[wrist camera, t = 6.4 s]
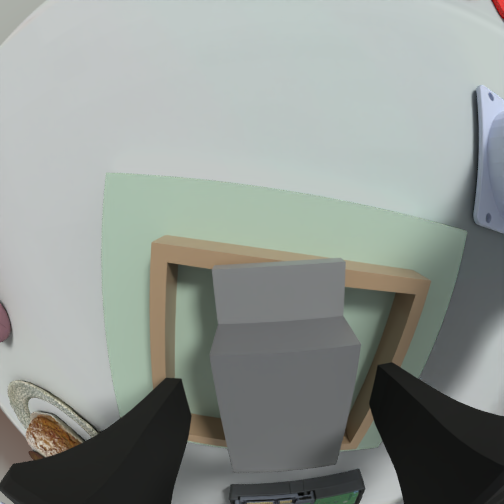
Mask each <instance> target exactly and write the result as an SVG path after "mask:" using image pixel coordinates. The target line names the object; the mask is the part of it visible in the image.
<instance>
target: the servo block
mask: <svg viewBox="0 0 504 504" xmlns="http://www.w3.org/2000/svg"><path fill="white" fill-rule="evenodd" d="M345 268H346V261H344V260H343V259H342V258H328V259H312V260H296V261H280V262H263V263H246V264H228V265H214V267H213V268H212V277H213V286H214V295H215V304H216V312H217V320H218V326H217V330H216V333H215V337H214V340H213V344H212V348H211V351H210V355H209V356H210V362H211V368H212V374H213V379H214V385H215V390H216V395H217V401H218V406H219V411H220V416H221V420H222V425H223V430H224V434H225V439H226V443H227V448H228V452H229V456H230V461H231V465H232V469H233V472H276V471H289V470H300V469H308V468H316V467H323V466H329V465H335V464H336V462H337V459H338V456H339V452H340V448H341V445H342V441H343V437H344V433H345V429H346V425H347V420H348V416H349V411H350V407H351V402H352V397H353V392H354V386H355V381H356V375H357V369H358V363H359V356H360V349H361V343H360V341H359V340H358V338H357V336H356V335H355V333H354V332H353V330H352V329H351V327H350V325H349V324H348V322H347V321H346V319H345V318H344V316H343V312H344V295H345Z"/></svg>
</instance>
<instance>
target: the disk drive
mask: <svg viewBox="0 0 504 504" xmlns="http://www.w3.org/2000/svg"><path fill="white" fill-rule="evenodd" d="M364 491H365V485H364V481H363V478H362V476H361V472H360V470H359V469H356V470H352V471H348V472H343V473H339V474H334V475H329V476H323V477H317V478H311V479H304V480H298V481H288V482H278V483H264V484H232V485H231V487H230V495H229V500H230V502H231V504H359V503H360V500H361V499H362V495H363V493H364Z"/></svg>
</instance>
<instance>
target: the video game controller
mask: <svg viewBox="0 0 504 504" xmlns="http://www.w3.org/2000/svg"><path fill="white" fill-rule="evenodd" d="M10 331H11V326H10V321H9V318H8V315H7V313H6V311H5V309H4V308H3V306H2V305H1V303H0V342H3V341H4V340H6V339H7V338H8V337H9V334H10Z"/></svg>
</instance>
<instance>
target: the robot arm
mask: <svg viewBox="0 0 504 504" xmlns="http://www.w3.org/2000/svg"><path fill="white" fill-rule="evenodd" d="M476 91H477V102H478V118H479V161H478V177H477V189H476V198H475V206H474V213H473V217H474V221H475V223H476V224H477V225H480V226H483V227H486V228H489V229H491V230H494V231H497V232H500V233H502V234H504V100H503V99H502V98H501V97H499V96H498V95H497V94H495V93H494V92H493V91H491V90H490V89H488V88H487V87H485V86H484V85H480V86H477V90H476ZM486 215H487V218H486ZM369 406H370V409H371V413H372V416H373V419H374V423H375V425H376V428H377V430H378V432H379V434H380V437H381V439H382V441H383V443H384V445H385V447H386V450H387V452H388V454H389V456H390V458H391V461H392V463H393V465H394V468H395V470H396V473H397V476H398V480H399V484H400V487H401V491H402V496H403V500H404V504H504V416H499V415H495V414H491V413H488V412H484V411H481V410H478V409H475V408H473V407H470V406H468V405H465V404H463V403H460V402H458V401H456V400H454V399H452V398H450V397H448V396H446V395H444V394H443V393H441V392H439V391H437V390H436V389H434V388H432V387H431V386H429V385H427V384H426V383H424V382H422V381H421V380H419V379H418V378H416V377H415V376H413V375H412V374H410V373H409V372H407V371H405V370H404V369H402V368H401V367H399V366H398V365H396V364H394V363H392V362H390V363H385V364H380V365H378V366H377V370H376V375H375V380H374V384H373V389H372V393H371V397H370V401H369ZM191 417H192V415H191V412H190V408H189V405H188V401H187V398H186V394H185V390H184V386H183V382H182V379H181V378H165V379H164V380H163V381H162V382H161V383H160V384H159V385H158V386H156V387H155V388H154V389H153V390H152V391H151V392H150V393H149V394H148V395H147V396H146V397H145V398H144V399H143V400H142V401H140V402H139V403H138V404H137V405H136V406H135V407H134V408H133V409H131V410H130V411H129V412H128V413H127V414H125V415H124V416H123V417H121V418H120V419H119V420H118V421H116V422H115V423H114V424H112V425H111V426H110V427H108V428H107V429H105V430H104V431H102V432H101V433H99V434H97V435H96V436H94V437H92V438H91V439H89V440H87V441H85V442H83V443H81V444H79V445H77V446H75V447H72V448H70V449H68V450H66V451H63V452H60V453H58V454H55V455H52V456H49V457H45V458H42V459H38V460H33V461H28V462H23V463H16V464H13V465H12V466H11V468H10V470H9V471H8V472H7V474H6V475H5V476H4V478H3V480H2V481H1V483H0V491H1V492H2V493H3V494H4V495H5V496H6V497H7V498H9V499H10V500H11V501H12V502H13V503H14V504H171V500H172V494H173V489H174V485H175V481H176V477H177V474H178V471H179V468H180V464H181V461H182V458H183V454H184V451H185V448H186V444H187V441H188V437H189V431H190V424H191ZM0 504H4V503H3V502H1V503H0Z"/></svg>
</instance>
